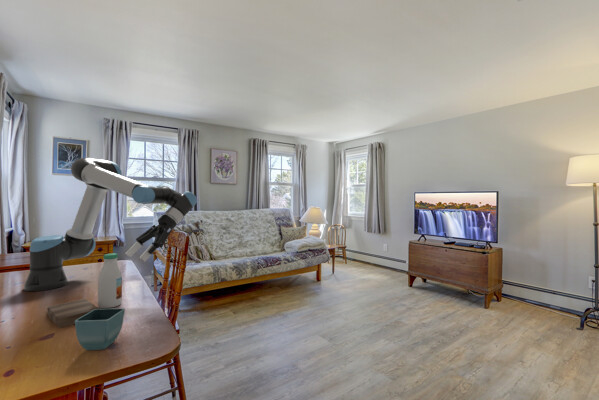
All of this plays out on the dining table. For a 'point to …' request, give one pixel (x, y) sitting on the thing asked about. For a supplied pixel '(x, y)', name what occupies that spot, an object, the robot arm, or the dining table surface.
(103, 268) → the milk bottle
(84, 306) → the brown flat block
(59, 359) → the dining table surface
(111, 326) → the flower pot
